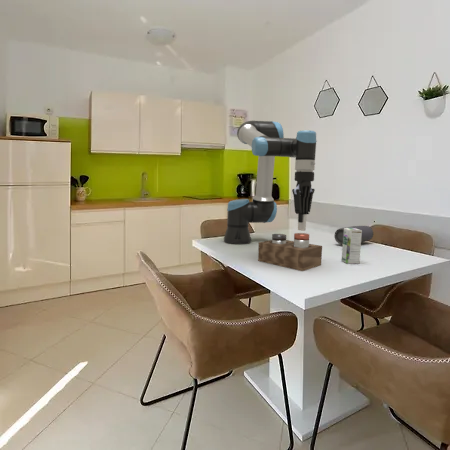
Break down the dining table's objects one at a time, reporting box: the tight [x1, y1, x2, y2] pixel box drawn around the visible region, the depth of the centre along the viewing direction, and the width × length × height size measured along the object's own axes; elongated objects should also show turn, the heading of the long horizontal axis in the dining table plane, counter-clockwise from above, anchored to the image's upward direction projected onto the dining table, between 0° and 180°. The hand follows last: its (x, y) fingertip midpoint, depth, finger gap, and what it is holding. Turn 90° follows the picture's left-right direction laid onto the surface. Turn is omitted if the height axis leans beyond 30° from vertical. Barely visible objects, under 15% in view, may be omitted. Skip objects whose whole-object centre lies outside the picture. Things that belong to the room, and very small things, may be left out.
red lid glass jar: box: [293, 232, 310, 248], centre depth 140 cm, size 6×6×10 cm
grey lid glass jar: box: [271, 233, 287, 244], centre depth 148 cm, size 6×6×10 cm
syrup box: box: [341, 227, 362, 265], centre depth 147 cm, size 6×6×14 cm
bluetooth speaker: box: [333, 225, 374, 245], centre depth 188 cm, size 23×9×10 cm, turn 123°
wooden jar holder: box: [257, 239, 323, 272], centre depth 144 cm, size 22×14×8 cm, turn 45°
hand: (301, 230), depth 139 cm, fingers closed
